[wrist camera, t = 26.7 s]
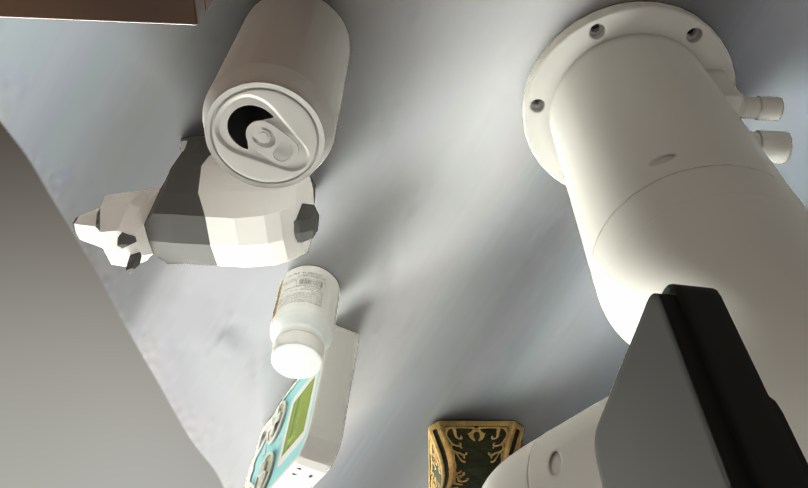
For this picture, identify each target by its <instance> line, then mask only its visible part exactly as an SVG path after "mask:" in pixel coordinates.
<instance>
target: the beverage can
mask: <svg viewBox="0 0 808 488" xmlns="http://www.w3.org/2000/svg"><path fill="white" fill-rule="evenodd" d="M349 57H350V40H349V35H348V32H347V29H346V27H345V25H344V23H343V21H342V19H341V18H340V16H339V15H338V14H337V13H336V11H335V10H334V9H333V8H332V7H330V6H329V5H328V4H327V3H325V2H324V1H322V0H261V1H260V2H258V3H257V4H256V5H255V6H254V7H253V8H252V9H251V11H250V12H249V13H248V15H247V17H246V19H245V21H244V23H243V25H242V27H241V28H240V30H239V32H238V34H237V36H236V38H235V40H234V42H233V44H232V46H231V48H230V50H229V52H228V54H227V56H226V58H225V60H224V62H223V64H222V66H221V68H220V70H219V72H218V74H217V76H216V78H215V80H214V82H213V84H212V86H211V87H210V89H209V91H208V93H207V96H206V98H205V101H204V105H203V114H202V117H203V126H204V131H205V139H206V143H207V146H208V149H209V151H210V153H211V155H212V156H213V158H214V159H215V161H216V162H217V163H218V165H219V166H220V167H221V168H222V169H223V170H224V171H225V172H227V173H228V174H229V175H231V176H232V177H234V178H235V179H237V180H239V181H241V182H243V183H246V184H248V185H251V186H255V187H260V188H268V189H275V188H284V187H288V186H292V185H294V184H297V183H299V182H301V181H303V180H304V179H306V178H307V177H308V176H310V175H311V174H312V173H313V172H314V171H315V169H316V168H317V167H319V166H320V165H321V164H322V163H323V162H324V160H325V159H326V158H327V156H328V155H329V153H330V151H331V148H332V146H333V143H334V138H335V133H336V128H337V122H338V117H339V111H340V106H341V101H342V95H343V90H344V84H345V79H346V74H347V68H348V63H349Z"/></svg>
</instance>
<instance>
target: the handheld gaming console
mask: <svg viewBox="0 0 808 488" xmlns="http://www.w3.org/2000/svg"><path fill="white" fill-rule="evenodd" d="M358 342H359V335H358V334H357V333H354V332H352V331H349V330H347V329H345V328H342V327H340V326H337V325H335V330H334V336H333V340H332V343H331V345H330V346H329V348H328V349H327V350H326V351H325V354H324V359H323V364H322V367H321V369H320V370H319V372H318V373H316V374H315V375H314V376H312V377H309V378H305V379H297V380H296V382H295V383H294V384H293V386H292V387H291V388H290V389H289V391H288V392H287V393H286V395H285V396H284V398H283V399H282V401H281V403H280V404H279V406H278V408H277V409H276V411H275V413H274V414H273V416H272V417H271V418H270V420H269V421H268V422H267V423H266V425H265V426H264V427H263V429H262V431H261V433H260V437H259V441H258V444H257V448H256V452H255V456H254V459H253V460H252V462H251V465H250V467H249V470H248V474H247V478H246V482H245V486H244V488H312V487H313V486H314V485H315V484H316V483H317V482H318V481H319V480H320V479H321V478H322V477H323V476H324V475H325V474H326V473H327V472H328V470H329V469H330V467H331V466H332V464H333V462H334V460H335V458H336V456H337V454H338V451H339V448H340V445H341V441H342V437H343V431H344V425H345V420H346V414H347V408H348V402H349V396H350V390H351V384H352V378H353V372H354V366H355V360H356V354H357V348H358Z"/></svg>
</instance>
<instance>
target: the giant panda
mask: <svg viewBox="0 0 808 488" xmlns="http://www.w3.org/2000/svg"><path fill="white" fill-rule="evenodd" d="M180 150H181V152H182V153H181V155H180V156H179V157H178V159H177V160H176V162H175V163H174V165H173V166H172V167H171V170H170V172H169V174H168V176H167V178H166V180H165V182H164V184H163V185H162V187H161V189H158V188H153V189H146V190H138V191H131V192H124V193H117V194H110V195H105V196H104V198H103V201H102V204H101V207H100V208H97V209H95V210H92V211H89V212H87V213H84V214H82V215H80V216H79V217H77V218H76V219H75V221H74V222H73V229H74V232H75V234H76V236H77V238H78V239H80V240H83V241H86V242H88V243H91V244H94V245H96V246H99V247H102V248H103V249H104V251H105V253H106V255H107V257H108V259H109V260H110V262H111V264H112V265H118V266H124V267H126V271H127V272H129V273H132V272H133V271H134V270H135V269H136V268H137V267H138V265H139V264H140V263H142V262H145V261H147V260H148V259H149V257H150V256H151V255H152V254H154V255H155V256H157V257H158V258H159V259H161V260H162V261H164V262H165V263H167V264H194V265H212V266H231V267H257V266H274V265H278V264H281V263H285V262H289V261H291V260H293V259H295V258H297V257H299V256H301V255H303V254H305V253H307V252H308V249H309V246H310V243H311V240H312V238H313V237H314V236H315V234H316V232H317V231H318V224H319V214H318V212H317V210H316V208H315V206H314V203H315V184H314V182H313V180H312V178H310V176H308V177H307V178H306V179H304V180H303V181H301V182H299V183H297V184H294V185H292V186H288V187H284V188H275V189H268V188H260V187H255V186H251V185H248V184H246V183H243V182H241V181H239V180H237V179H235V178H234V177H232V176H231V175H229V174H228V173H227V172H225V171H224V170H223V169H222V168H221V167H220V166H219V165H218V163H217V162H216V161H215V159H214V158H213V156H212V155H211V153H210V151H209V149H208V146H207V143H206V139H205V137H203V136H196V137H186V138H181V145H180Z"/></svg>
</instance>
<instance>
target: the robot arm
mask: <svg viewBox="0 0 808 488" xmlns="http://www.w3.org/2000/svg"><path fill="white" fill-rule="evenodd" d="M595 24H599V27H598V28H597V29H594V30H593V29H591V27H592V26H594V25H595ZM692 28H694V30H693V32H691V33H688V31H689V30H691V29H692ZM536 99H540V100H539V101H538V102H533V101H534V100H536ZM783 110H784V102H783V99H782V98H781V97H771V96H757V97H744V96H743V94H742V92H739V91H738V90H737V88H736V84H735V71H734V67H733V64H732V61H731V57H730V54H729V53H728V51H727V49H726V48H725V46H724V44H723V42H722V41H721V39H720V38H719V37H718V35H717V34H716V33H715V32H714V31H713V30H712V28H711V27H710V26H708V25H707V24H706V23H705V22H704V21H702V20H701V19H700V18H699V17H697V16H696V15H694V14H692V13H690V12H688V11H686V10H684V9H682V8H680V7H677V6H673V5H669V4H665V3H661V2H645V1H636V2H629V3H622V4H615V5H612V6H609V7H606V8H603V9H600V10H597V11H595V12H593V13H591V14H589V15H587V16H585V17H583V18H581V19H579V20H578V21H576V22H574V23H573V24H572V25H570V26H569V27H568V28H566V29H565V30H564V31H563V32H561V33H560V34H559V35H558V36H557V37H556V38H555V39H554V40H553V41H552V42H551V43H550V44H549V45H548V46H547V47H546V49H545V50H544V51H543V52H542V54H541V56H540V57H539V59H538V60H537V62H536V63H535V65H534V66H533V68H532V71H531V73H530V76H529V78H528V81H527V83H526V86H525V92H524V97H523V102H522V115H523V124H524V130H525V135H526V138H527V140H528V143H529V146H530V149H531V151H532V153H533V154H534V156H535V157H536V159H537V161H538V162H539V164H540V165H541V166H542V167H543V168H544V169H545V170H546V171H547V172H548V173H549V174H550V175H551V176H552V177H554V178H555V179H557V180H558V181H560V182H561V183H563V184H564V185H566V186H567V190H568V193H569V197H570V200H571V204H572V207H573V211H574V214H575V218H576V222H577V225H578V229H579V232H580V236H581V239H582V243H583V246H584V250H585V253H586V257H587V261H588V264H589V268H590V271H591V275H592V278H593V282H594V285H595V288H596V291H597V295H598V298H599V301H600V304H601V306H602V309H603V311H604V313H605V315H606V317H607V319H608V320H609V322H610V323H611V325H612V327H613V328H614V329H615V331H616V332H617V333H618V334H619V335H620V336H621V337H622V338H623V339H624V340H625V341H626V342H627V343H628V344H629V348H628V350H627V353H626V355H625V358H624V360H623V363H622V365H621V368H620V370H619V373H618V375H617V378H616V380H615V383H614V385H613V388H612V390H611V393H610V395H609V396H608V397H606V398H604V399H602V400H601V401H599V402H597V403H596V404H594V405H592V406H590V407H589V408H587V409H585V410H584V411H582V412H580V413H579V414H577V415H575V416H573V417H572V418H570V419H568V420H567V421H565V422H563V423H561V424H560V425H558V426H556V427H555V428H553V429H551V430H549V431H548V432H546V433H545V434H543V435H542V436H540V437H538V438H537V439H535V440H533V441H532V442H530V443H528V444H527V445H525V446H524V447H522V448H521V449H519V450H518V451H516V452H515V453H513V454H512V455H510V456H509V457H508V458H507V459H505V460H504V461H503V462H502V463H501V464H500V465H498V466H497V467H496V468H495V469H494V471H493V472H492V473H491V474H490V475H489V477H488V478H487V480H486V481H485V483H484V484H483V486H482V488H808V210H807V209H806V208H805V206H804V205H803V204H802V202H801V201H800V199H799V198H798V197H797V195H796V194H795V193H794V192H793V191H792V189H791V188H790V187H789V185H788V184H787V182H786V181H785V180H784V178H783V177H782V175H781V174H780V173H779V171H778V170H777V169H776V167H775V166H774V164H773V163H783V164H784V163H785V162H787V161H788V159H789V157H790V155H791V151H792V138H791V136H790V133H788V132H786V131H761V130H757V131H755V132H750V131H749V130H748V128H747V127H746V125H745V124H744V123H743V121H742V120H741V118H747V119H755V120H768V121H777V120H779V119H780V118H781V116H782V114H783Z"/></svg>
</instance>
